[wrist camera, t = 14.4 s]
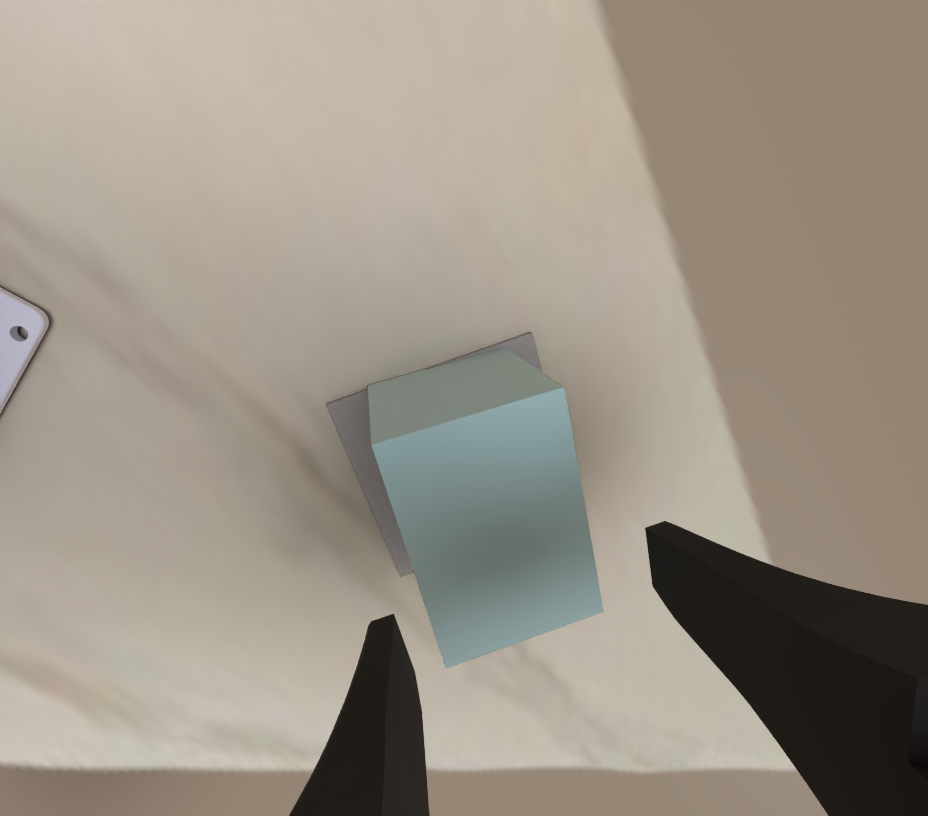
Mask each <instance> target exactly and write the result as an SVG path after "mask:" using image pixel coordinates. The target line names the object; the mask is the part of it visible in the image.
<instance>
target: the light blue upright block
mask: <svg viewBox="0 0 928 816" xmlns="http://www.w3.org/2000/svg"><path fill="white" fill-rule="evenodd" d="M368 399H369V415H370V431H371V445H372V448H373V451H374V454H375V457H376V460H377V463H378V466H379V469H380V472H381V475H382V478H383V481H384V484H385V487H386V490H387V493H388V496H389V499H390V502H391V505H392V508H393V511H394V514H395V517H396V520H397V523H398V526H399V529H400V532H401V535H402V538H403V541H404V544H405V547H406V550H407V553H408V556H409V559H410V562H411V565H412V568H413V571H414V574H415V577H416V580H417V583H418V586H419V589H420V592H421V595H422V598H423V601H424V604H425V607H426V610H427V613H428V616H429V619H430V622H431V625H432V628H433V631H434V634H435V637H436V640H437V643H438V646H439V649H440V652H441V655H442V658H443V661H444V664H445V667H446V668H448V667H451V666H454V665H457V664H459V663H462V662H465V661H468V660H470V659H473V658H476V657H479V656H482V655H484V654H487V653H490V652H493V651H496V650H498V649H501V648H504V647H507V646H509V645H512V644H515V643H518V642H521V641H523V640H526V639H529V638H532V637H534V636H537V635H540V634H543V633H546V632H548V631H551V630H554V629H557V628H560V627H562V626H565V625H568V624H571V623H573V622H576V621H579V620H582V619H585V618H587V617H590V616H593V615H596V614H598V613H601V612H603V606H602V600H601V594H600V589H599V583H598V577H597V571H596V566H595V560H594V554H593V548H592V543H591V537H590V531H589V525H588V520H587V514H586V508H585V503H584V497H583V491H582V485H581V480H580V474H579V468H578V462H577V457H576V451H575V445H574V439H573V434H572V428H571V422H570V416H569V411H568V405H567V399H566V394H565V388H564V386H562V385H561V384H559V383H558V382H556V381H555V380H553V379H552V378H550V377H549V376H547V375H546V374H544V373H543V372H541V371H540V370H538V369H537V368H535V367H534V366H532V365H531V364H529V363H528V362H526V361H525V360H523V359H522V358H520V357H519V356H517V355H515V354H514V353H512V352H511V351H509V350H508V349H506V348H505V347H504V348H501V349H497V350H494V351H490V352H487V353H483V354H480V355H476V356H473V357H470V358H466V359H463V360H459V361H456V362H452V363H449V364H445V365H442V366H438V367H435V368H431V369H428V370H426V369H423V370H420V371H416V372H413V373H409V374H406V375H402V376H399V377H395V378H392V379H388V380H385V381H381V382H378V383H374V384H371V385H368Z"/></svg>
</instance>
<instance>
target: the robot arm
mask: <svg viewBox="0 0 928 816" xmlns="http://www.w3.org/2000/svg"><path fill="white" fill-rule="evenodd" d="M19 326H20V327H23V328H24V329H25V330H26V331H27V333H28V338H27V339H23V338H22V337H20V336H19V334H18V332H17V330H18V327H19ZM48 326H49V320H48V317H47V315H46V314H45V312H43V311H42V310H41V309H39V308H38V307H36V306H34V305H32V304H30V303H29V302H27V301H25V300H23V299H21V298H19V297H17V296H15V295H14V294H12V293H10V292H8V291H6V290H4V289H2V288H1V287H0V413H1V411H2V410H3V408H4V406H5V404H6V402H7V401H8V399H9V397H10V395H11V394H12V392H13V390H14V388H15V386H16V385H17V383H18V381H19V379H20V377H21V376H22V374H23V372H24V370H25V368H26V367H27V365H28V363H29V361H30V359H31V358H32V356H33V354H34V352H35V350H36V349H37V347H38V345H39V343H40V341H41V340H42V338H43V336H44V334H45V332H46V331H47V329H48ZM645 529H646V537H647V545H648V553H649V561H650V569H651V577H652V585H653V587H654V589H655V590H656V592H657V593H658V595H659V596H660V598H661V599H662V601H663V602H664V604H665V605H666V607H667V608H668V610H669V611H670V612H671V614H672V615H673V617H674V618H675V619H676V620H677V622H678V623H679V624H680V625H681V626H682V627H683V629H684V630H685V631H686V632H687V633H688V634H689V635H690V637H691V638H692V639H693V640H694V641H695V642H696V643H697V645H698V646H699V647H700V648H701V649H702V650H703V651H704V652H705V654H706V655H707V656H708V657H709V658H710V659H711V660H712V661H713V663H714V664H715V665H716V666H717V667H718V668H719V669H720V670H721V672H722V673H723V674H724V675H725V676H726V677H727V678H728V679H729V681H730V682H731V683H732V684H733V685H734V686H735V687H736V689H737V690H738V691H739V692H740V693H741V695H742V696H743V697H744V698H745V699H746V701H747V702H748V703H749V704H750V706H751V707H752V708H753V710H754V711H755V712H756V714H757V715H758V716H759V718H760V719H761V720H762V722H763V723H764V725H765V726H766V727H767V729H768V730H769V731H770V733H771V734H772V735H773V737H774V738H775V739H776V741H777V742H778V744H779V745H780V746H781V748H782V749H783V751H784V752H785V753H786V755H787V756H788V758H789V759H790V760H791V762H792V763H793V765H794V766H795V767H796V769H797V770H798V772H799V773H800V774H801V776H802V777H803V779H804V780H805V781H806V783H807V784H808V786H809V787H810V789H811V790H812V792H813V793H814V795H815V796H816V798H817V799H818V800H819V802H820V804H821V805H822V807H823V808H824V809H825V811H826V813H827V814H828V815H829V816H928V605H925V604H919V603H912V602H907V601H902V600H897V599H892V598H887V597H882V596H877V595H873V594H869V593H864V592H860V591H856V590H852V589H847V588H844V587H840V586H836V585H832V584H828V583H825V582H821V581H819V580H815V579H812V578H808V577H805V576H802V575H799V574H795V573H792V572H789V571H786V570H783V569H781V568H778V567H775V566H773V565H770V564H767V563H764V562H761V561H759V560H756V559H754V558H751V557H749V556H746V555H744V554H741V553H739V552H736V551H734V550H731V549H729V548H727V547H724V546H722V545H720V544H717V543H715V542H713V541H710V540H708V539H706V538H704V537H701V536H699V535H697V534H694V533H692V532H690V531H688V530H685V529H683V528H681V527H679V526H676V525H674V524H671V523H669V522H666V521H664V522H661V523H658V524H655V525H652V526H649V527H646V528H645ZM426 777H427V776H426V762H425V748H424V734H423V721H422V710H421V704H420V698H419V692H418V687H417V681H416V676H415V671H414V668H413V665H412V663H411V660H410V657H409V654H408V652H407V649H406V646H405V643H404V641H403V638H402V635H401V632H400V630H399V627H398V624H397V621H396V619H395V616H394V614H392V615H389V616H386V617H383V618H380V619H377V620H374V621H371V622H370V624H369V626H368V629H367V633H366V637H365V641H364V644H363V648H362V651H361V655H360V658H359V661H358V664H357V668H356V671H355V673H354V676H353V679H352V682H351V685H350V688H349V691H348V694H347V696H346V699H345V702H344V704H343V706H342V709H341V711H340V714H339V716H338V719H337V721H336V724H335V726H334V729H333V731H332V733H331V735H330V738H329V740H328V742H327V744H326V747H325V749H324V751H323V753H322V755H321V757H320V759H319V761H318V763H317V765H316V767H315V769H314V771H313V773H312V775H311V777H310V779H309V781H308V783H307V784H306V786H305V788H304V790H303V792H302V793H301V795H300V797H299V799H298V801H297V803H296V804H295V806H294V808H293V810H292V811H291V813H290V815H289V816H429V806H428V791H427V778H426Z"/></svg>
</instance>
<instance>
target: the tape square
mask: <svg viewBox="0 0 928 816" xmlns="http://www.w3.org/2000/svg"><path fill="white" fill-rule="evenodd" d="M504 347H505V348H506V349H508V350H509V351H511V352H512V353H514V354H515V355H517V356H519V357H520V358H522V359H523V360H525V361H526V362H528V363H529V364H531V365H532V366H534V367H535V368H537V369H538V370H540V371H541V372H542V370H541V366H540V362H539V358H538V354H537V350H536V346H535V342H534V338H533V334H532V332H529V333H526V334H523V335H521V336H518V337H515V338H512V339H509V340H506V341H503V342H501V343H498V344H495V345H492V346H489V347H486V348H483V349H481V350H478V351H475V352H472V353H469V354H466V355H464V356H461V357H458V358H455V359H452V360H449V361H446V362H444V363H441V364H438V365H435V366H432V367H429V368H426V370H428V369H431V368H435V367H438V366H442V365H445V364H449V363H452V362H456V361H459V360H463V359H466V358H470V357H473V356H476V355H480V354H483V353H487V352H490V351H494V350H497V349H501V348H504ZM326 406H327V408H328V411H329V413H330V415H331V417H332V420H333V422H334V424H335V427H336V429H337V431H338V434H339V436H340V438H341V441H342V443H343V445H344V448H345V450H346V452H347V455H348V457H349V459H350V461H351V464H352V466H353V468H354V471H355V473H356V475H357V478H358V480H359V482H360V485H361V487H362V489H363V492H364V494H365V496H366V499H367V501H368V503H369V505H370V508H371V510H372V512H373V515H374V517H375V519H376V522H377V524H378V526H379V529H380V531H381V533H382V536H383V538H384V540H385V543H386V545H387V547H388V549H389V552H390V554H391V556H392V559H393V561H394V563H395V566H396V568H397V570H398V573H399V575H400V577H402V576H405V575H407V574H410V573H412V572H414V571H413V568H412V565H411V562H410V559H409V556H408V553H407V550H406V547H405V544H404V541H403V538H402V535H401V532H400V529H399V526H398V523H397V520H396V517H395V514H394V511H393V508H392V505H391V502H390V499H389V496H388V493H387V490H386V487H385V484H384V481H383V478H382V475H381V472H380V469H379V466H378V463H377V460H376V457H375V454H374V451H373V448H372V445H371V431H370V415H369V399H368V389H367V390H364V391H361V392H358V393H355V394H352V395H349V396H347V397H344V398H341V399H338V400H335V401H332V402H329V403H327V404H326Z"/></svg>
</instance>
